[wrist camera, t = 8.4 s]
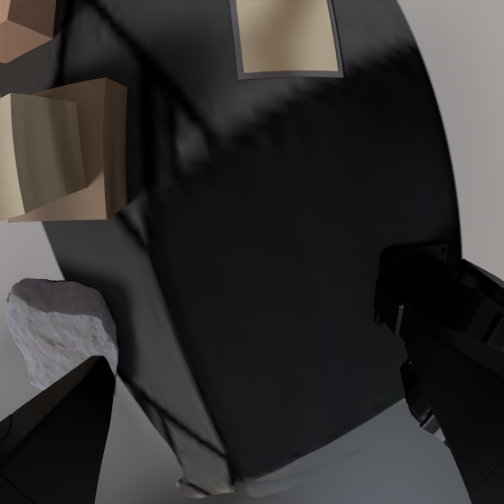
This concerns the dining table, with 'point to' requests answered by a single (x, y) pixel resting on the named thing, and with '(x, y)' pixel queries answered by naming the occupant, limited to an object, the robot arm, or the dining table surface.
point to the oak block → (38, 153)
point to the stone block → (59, 327)
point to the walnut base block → (93, 152)
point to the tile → (285, 39)
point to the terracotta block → (24, 26)
